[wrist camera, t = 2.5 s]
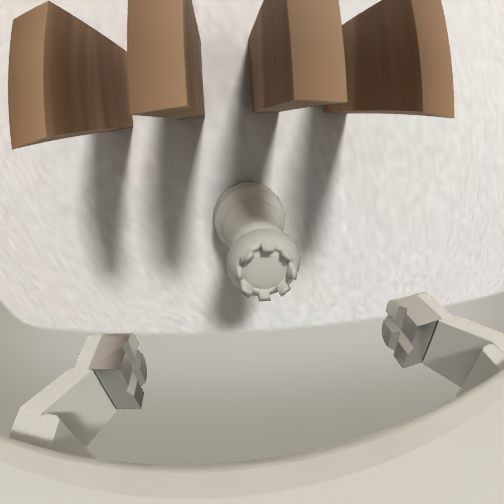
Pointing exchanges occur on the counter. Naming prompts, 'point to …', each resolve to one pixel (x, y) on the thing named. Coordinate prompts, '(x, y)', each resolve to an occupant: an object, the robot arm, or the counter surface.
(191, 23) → the domino
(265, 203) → the rook chess piece
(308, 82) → the domino
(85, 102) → the domino
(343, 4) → the counter surface
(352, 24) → the domino
